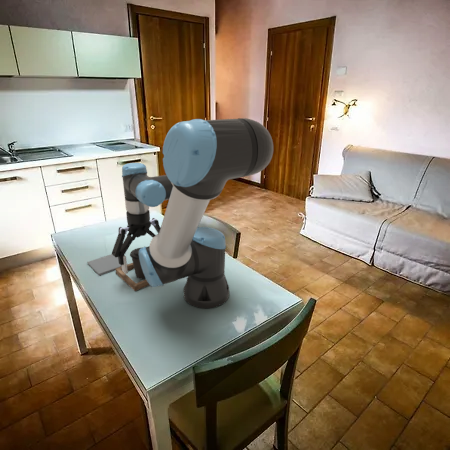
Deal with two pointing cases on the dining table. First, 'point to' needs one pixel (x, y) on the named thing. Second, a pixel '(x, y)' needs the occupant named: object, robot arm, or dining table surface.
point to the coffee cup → (137, 263)
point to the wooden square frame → (128, 280)
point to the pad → (104, 264)
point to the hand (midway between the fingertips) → (142, 265)
